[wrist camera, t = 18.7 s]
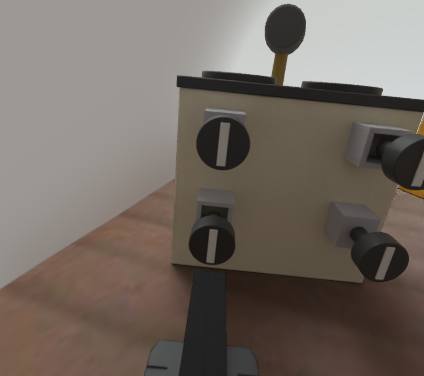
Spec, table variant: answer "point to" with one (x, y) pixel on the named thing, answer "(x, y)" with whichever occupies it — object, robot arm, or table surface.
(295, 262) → the stove
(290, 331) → the table surface
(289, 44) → the rubber mallet
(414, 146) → the knob top right
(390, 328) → the table surface
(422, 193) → the packaging box
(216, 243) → the knob bottom left
